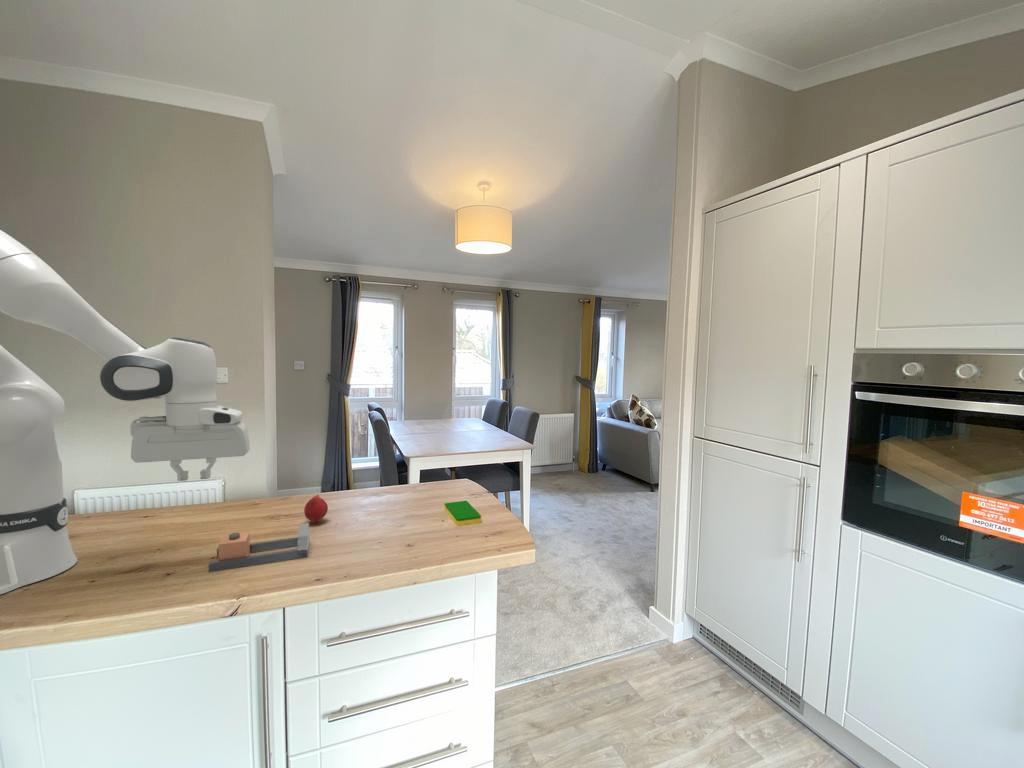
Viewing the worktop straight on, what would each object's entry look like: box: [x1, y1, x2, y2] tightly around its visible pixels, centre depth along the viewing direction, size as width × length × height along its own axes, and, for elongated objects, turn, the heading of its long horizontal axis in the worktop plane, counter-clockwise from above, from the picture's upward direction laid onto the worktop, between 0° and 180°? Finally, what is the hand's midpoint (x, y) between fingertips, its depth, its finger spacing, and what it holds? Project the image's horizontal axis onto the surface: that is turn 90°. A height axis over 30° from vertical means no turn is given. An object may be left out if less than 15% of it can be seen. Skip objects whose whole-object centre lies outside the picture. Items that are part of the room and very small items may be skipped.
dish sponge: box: [444, 500, 482, 527], centre depth 123 cm, size 7×14×2 cm, turn 24°
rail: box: [208, 522, 310, 573], centre depth 96 cm, size 19×8×5 cm, turn 113°
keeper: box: [217, 531, 251, 560], centre depth 94 cm, size 5×5×6 cm
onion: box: [303, 493, 329, 524], centre depth 116 cm, size 6×6×8 cm
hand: (194, 479), depth 90 cm, fingers open, 3 cm apart
